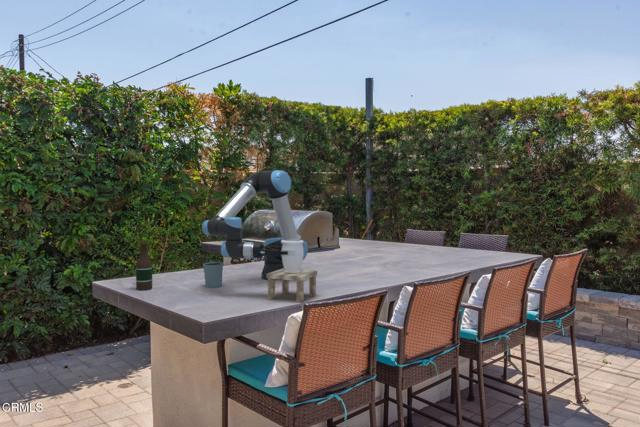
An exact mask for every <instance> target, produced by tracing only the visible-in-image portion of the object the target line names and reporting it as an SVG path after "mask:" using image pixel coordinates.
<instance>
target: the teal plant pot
mask: <svg viewBox="0 0 640 427" xmlns="http://www.w3.org/2000/svg"><path fill="white" fill-rule="evenodd" d="M202 265H203V273H204V274H203V276H204V285H205V288H210V289H211V288H214V289H216V288H221V287H222V286H223V269H224V268H223V267H224V263H223V262H218V261H217V262H216V261H214V262H205V263H203V264H202Z"/></svg>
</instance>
